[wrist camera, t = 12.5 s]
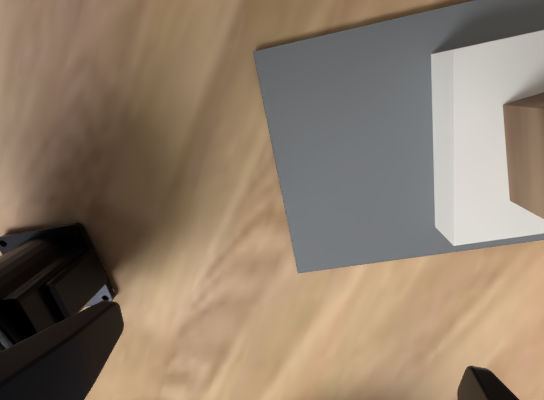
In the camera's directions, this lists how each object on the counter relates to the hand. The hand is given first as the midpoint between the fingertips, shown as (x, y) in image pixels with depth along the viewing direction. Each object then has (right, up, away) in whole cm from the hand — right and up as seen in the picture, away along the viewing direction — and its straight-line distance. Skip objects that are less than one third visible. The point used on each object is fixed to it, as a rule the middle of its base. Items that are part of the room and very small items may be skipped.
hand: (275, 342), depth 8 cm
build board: (+10, +7, +10) cm, 16 cm away
